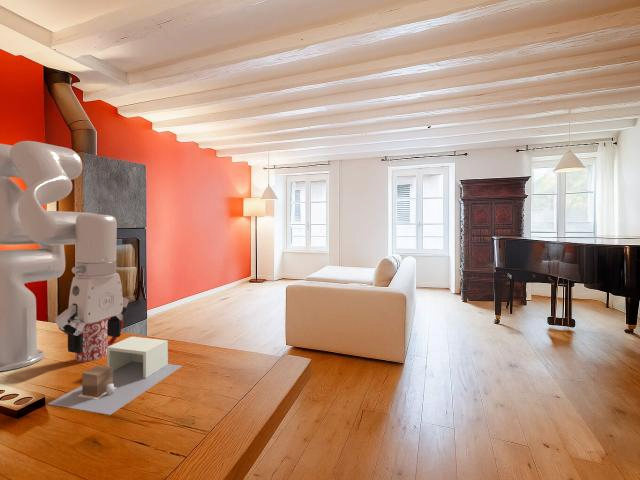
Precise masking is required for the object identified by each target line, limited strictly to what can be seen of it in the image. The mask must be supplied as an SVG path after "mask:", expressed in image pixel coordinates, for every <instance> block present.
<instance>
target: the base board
mask: <svg viewBox="0 0 640 480" xmlns="http://www.w3.org/2000/svg"><path fill="white" fill-rule="evenodd" d="M182 367H183V365H180V364H179V365H178V364H172V363H168V365H166V366H165V367H163V368H161V369H160V370H158V371H157V372H155V373H153V374H152V375H150V376H149V377H147V378H143V363H141V362H133V361H132V362H130V363H128V364H126V365H124V366H122V367H120V368H118V369H116V370H115V371H113V384H108V385H107V386H106V392H105V393H104V394H102V395H100V396H99V397H93V396H87V395H82V385H80V386H78V387H77V388H75V389H73V390H71V391H69V392H67V393H65V394H63V395H61V396H59V397H58V398H56V399H54V400H52V401H50V402H48V403H47V405H50V406H51V405H52V406H57V407H62V408H63V407H64V408H68V409H75V410H80V411H86V412H91V413H97V414H104V415H107V416H111V415H112V414H114V413H115V412H117V411H119V410H120V409H121V408H123V407H124V406H126V405H127V404H128V403H130V402H132V401H133V400H134V399H136V398H137V397H139V396H141V395H142V394H144V393H145V392H147V391H148V390H149V389H151V388H152V387H154V386H155V385H157V384H159V383H160V382H162V381H163V380H164V379H165V378H168V377H169V376H170V375H172V374H173V373H174V372H176V371H178V370H179V369H181V368H182Z"/></svg>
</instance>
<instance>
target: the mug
mask: <svg viewBox="0 0 640 480" xmlns="http://www.w3.org/2000/svg"><path fill="white" fill-rule="evenodd" d="M108 319H110V318H108ZM108 319H105V320H102V321H99V322H96V323H93V324H86V325H85V326H84V328H83V329H82V331H81V332H80V334H83V351H82V352H81V353H74V354H75V360H76V361H77V362H82V363H85V362H93V361H97V360H100V359H102V358H104V357H107V347H108V346H111V345H113V344H115V341H116V340H117V339H118V337H112V336H111V338H110V340H109V336H108V335H107V322H108ZM120 321H121V330H123V325H124V319H122V320H120ZM77 325H78V324H76V326H75V327H74V328H76V327H77Z"/></svg>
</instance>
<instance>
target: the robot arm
mask: <svg viewBox="0 0 640 480" xmlns="http://www.w3.org/2000/svg"><path fill="white" fill-rule="evenodd" d="M82 172H83V161H82V159H81V157H80V155H79V154H78V153H77V151H75V150H73V149H71V148H68V147H65V146H64V147H63V146H58V145H54V144H50V143H49V144H48V143H45V142H44V143H43V142H39V141H34V140H33V141H32V140H23V141H18V142H16V143H14V144H13V145H10V144H5V143H0V245H1V246H2V245H3V246H18V245H19V246H21V245H24V246H25V245H38V248H28V249H27V248H26V249H25V248H21V249H20V248H19V249H5V250H4V249H3V250H0V372H4V371H10V370H16V369H20V368H23V367H26V366H29V365H32V364H35V363H37V362H39V361H41V360H42V359H43V358H44V357H45V351H44V350H41V349H38V337H37V336H38V335H37V334H38V333H37V330H38V329H37V297H36V296H35V294H34V293H33V291H31V290H30V289H29V288H28V287H26V286H25V284H28V283H35V282H43V281H50V280H56V279H58V278H60V277H62V276H63V274H64V273H65V270H66V254H65V245H66V246H67V245H75V262H74V263H75V266H73V267H72V268H71V272H72V273H73V274H74V275H75V276H73V277H72V281H71V285H70V291H69V298H68V308H66V309H65V310H64V311H63V312H61V313H60V314H59V315H57V316H56V317H55V318H54V322H55V324H56V325H57V326H58V329H59V331H61V332H63V333H64V334H65V335H67V351H68V353H73V354H75V353H81V352H82V351H83V334H80V332H81V331H82V329H83V328H84V326H85V325H86V324H93V323H96V322H99V321H102V320H105V319H108V318H110V319H108V322H107V335H108V337H111V338H112V337H117V338H120V337H121V331H122V329H121V321H120V320H124V314H125V313H126V311H127V307H128V304H129V301H130V299H129V298H127V297H123V287H122V286H123V285H122V281H121V277H120V274H119V273H118V272H117V234H118V233H117V232H118V231H117V230H118V223H117V219H116V217H115V216H113V215H111V214H98V213H95V212H94V213H93V212H80V211H79V212H77V211H65V210H64V211H63V210H62V211H60V210H45V209H44V208H43V206H46V205H49V204H53V203H56V202H58V201H61V200H63V199H65V198H66V197H68V196H69V195H70V193H72V190H73V183H72V180H75V179H77V178H79V176H81V173H82ZM11 178H16V179H17V178H18V179H21V180H22V181H23V183H24V184H25V186H26V188H25V190H23V189H22V188H21V187H20V186H19V185H18V184H17V183H16V182H15V181H13V180H12V179H11ZM68 321H70V322H68ZM76 324H78V325H77V327H76V328H74V327H75V326H76Z"/></svg>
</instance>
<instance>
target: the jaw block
mask: <svg viewBox="0 0 640 480" xmlns="http://www.w3.org/2000/svg"><path fill="white" fill-rule="evenodd" d="M81 378H82V379H81V382H82V384H81V386H82V395H87V396H93V397H99V396H100V395H102V394H104V393H105V392H106V386H107V385H108V384H113V367H107V365H96V366H94V367H92V368H90V369H88V370H85V371H83V372H82V373H81Z"/></svg>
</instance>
